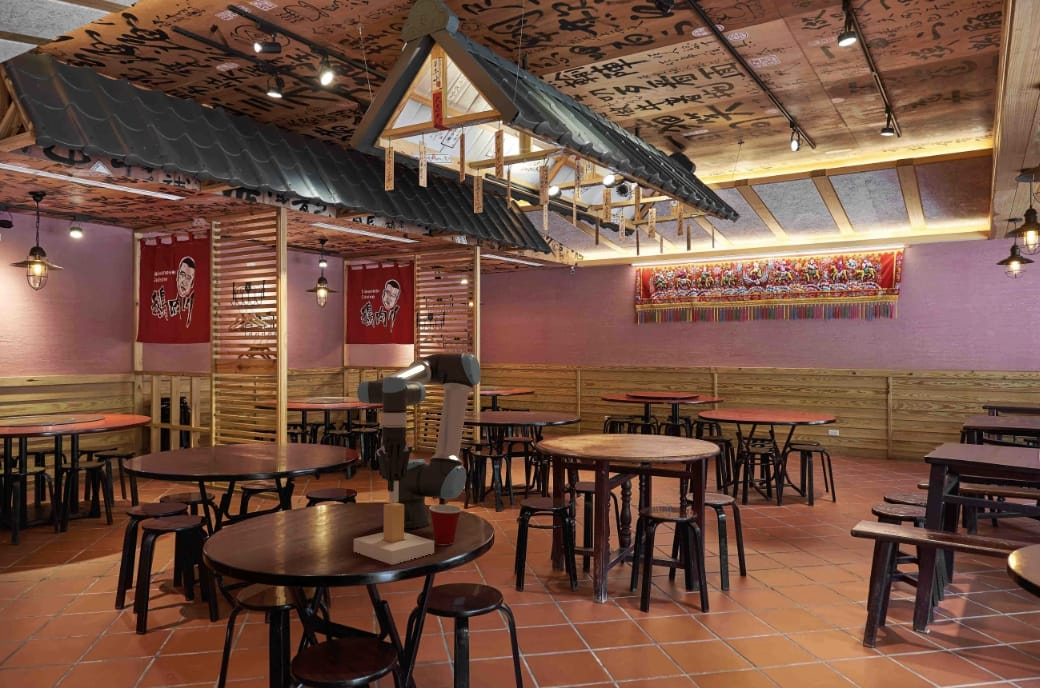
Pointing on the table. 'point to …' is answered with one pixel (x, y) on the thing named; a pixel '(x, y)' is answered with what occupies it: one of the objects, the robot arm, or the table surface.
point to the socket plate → (393, 548)
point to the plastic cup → (445, 522)
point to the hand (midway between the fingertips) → (393, 501)
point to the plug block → (393, 522)
